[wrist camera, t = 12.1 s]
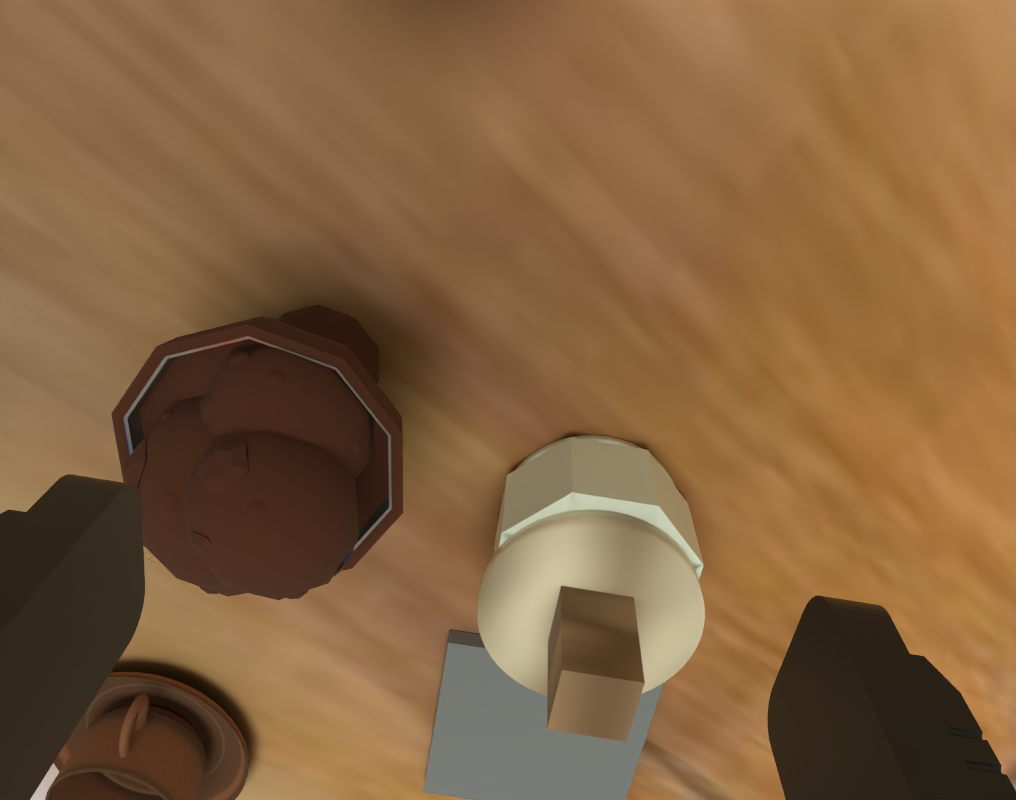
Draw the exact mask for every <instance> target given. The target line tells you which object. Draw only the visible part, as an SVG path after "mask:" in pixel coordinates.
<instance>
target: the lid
mask: <svg viewBox="0 0 1016 800" xmlns="http://www.w3.org/2000/svg"><path fill="white" fill-rule="evenodd" d="M477 620H478V628H479V632H480V636H481V639H482V641H483V643H484V646H485V648H486V649H487V651H488V653H489V654H490V656H491V658H492V659H493V660H494V661H495V662H496V664H497V665H498V666H499V667H500V668H501V669H502V670H503V671H504V672H505V673H506V674H507V675H508V676H510V677H511V678H513V679H514V680H515V681H517V682H518V683H520V684H521V685H523V686H525V687H527V688H529V689H530V690H533V691H535V692H537V693H540V694H542V695H545V696H547V730H554V731H560V732H567V733H573V734H580V735H586V736H592V737H599V738H605V739H612V740H618V741H625V742H626V741H627V738H628V735H629V731H630V728H631V725H632V722H633V719H634V716H635V712H636V709H637V706H638V703H639V700H640V697H641V694H642V693H644V692H647V691H649V690H651V689H653V688H655V687H657V686H659V685H661V684H662V683H664V682H665V681H667V680H668V679H669V678H671V677H672V676H673V675H675V674H676V673H677V672H678V671H679V670H680V669H681V668H682V667H683V666H684V665H685V664H686V662H687V661H688V660H689V659H690V657H691V656H692V654H693V653H694V651H695V650H696V648H697V646H698V643H699V641H700V639H701V636H702V632H703V628H704V621H705V608H704V600H703V596H702V592H701V588H700V584H699V580H698V576H697V573H696V570H695V568H694V566H693V564H692V562H691V560H690V559H689V557H688V555H687V554H686V552H685V551H684V550H683V549H682V548H681V547H680V545H679V544H678V543H677V542H676V541H675V540H674V539H672V538H671V537H670V536H669V535H668V534H667V533H665V532H664V531H662V530H660V529H659V528H657V527H656V526H654V525H652V524H650V523H648V522H646V521H644V520H642V519H639V518H636V517H633V516H630V515H627V514H623V513H618V512H614V511H605V510H575V511H567V512H562V513H558V514H553V515H550V516H547V517H544V518H542V519H539V520H537V521H534V522H532V523H530V524H528V525H526V526H525V527H523V528H521V529H520V530H518V531H517V532H515V533H514V534H513V535H511V536H510V537H509V538H508V539H507V540H506V541H504V542H503V543H502V545H501V546H500V547H499V548H498V549H497V550H496V551H495V553H494V554H493V556H492V557H491V559H490V560H489V562H488V564H487V566H486V568H485V571H484V573H483V576H482V580H481V584H480V591H479V600H478V609H477Z"/></svg>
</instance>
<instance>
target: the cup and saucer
mask: <svg viewBox="0 0 1016 800" xmlns="http://www.w3.org/2000/svg"><path fill="white" fill-rule="evenodd" d="M53 763H54V764H55V766H56V767H57V769H58V770H59V771H60V772H59V774H58V776H57V777H56V779H55V780H54V782H53V783H52V785H51V786H50V788H49V790H48V792H47V795H46V799H45V800H235V799H236V798H237V797H238V795H239V794H240V792H241V791H242V789H243V787H244V785H245V782H246V778H247V774H248V766H249V757H248V750H247V747H246V743H245V741H244V738H243V736H242V734H241V732H240V730H239V729H238V727H237V726H236V724H235V723H234V722H233V720H232V719H231V718H230V717H229V715H228V714H227V713H226V712H225V711H224V710H223V709H222V708H221V707H220V706H219V705H218V704H217V703H215V702H214V701H213V700H212V699H210V698H209V697H208V696H206V695H205V694H203V693H201V692H200V691H198V690H197V689H195V688H193V687H191V686H189V685H187V684H184V683H182V682H180V681H177V680H174V679H171V678H168V677H164V676H160V675H155V674H150V673H142V672H114V673H110V674H109V676H108V677H107V679H106V680H105V682H104V684H103V685H102V687H101V688H100V690H99V691H98V693H97V695H96V696H95V698H94V699H93V701H92V702H91V704H90V706H89V707H88V709H87V710H86V712H85V713H84V715H83V717H82V718H81V720H80V721H79V723H78V725H77V726H76V728H75V729H74V731H73V732H72V734H71V736H70V737H69V739H68V740H67V742H66V743H65V745H64V747H63V748H62V750H61V751H60V753H59V754H58V756H57V758H56V759H55V761H54V762H53Z"/></svg>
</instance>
